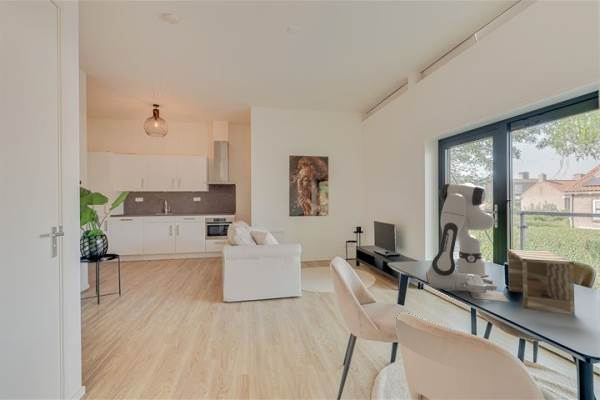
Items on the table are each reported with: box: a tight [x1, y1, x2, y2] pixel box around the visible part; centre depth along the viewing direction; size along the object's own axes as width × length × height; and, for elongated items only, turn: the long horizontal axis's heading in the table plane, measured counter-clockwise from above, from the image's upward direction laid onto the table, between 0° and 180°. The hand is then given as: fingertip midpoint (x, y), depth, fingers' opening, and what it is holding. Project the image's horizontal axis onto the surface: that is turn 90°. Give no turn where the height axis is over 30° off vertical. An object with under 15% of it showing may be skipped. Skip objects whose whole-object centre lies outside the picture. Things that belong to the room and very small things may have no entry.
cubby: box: [507, 248, 576, 315], centre depth 127 cm, size 26×16×21 cm, turn 154°
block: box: [527, 277, 542, 298], centre depth 128 cm, size 5×5×10 cm
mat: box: [469, 290, 510, 303], centre depth 135 cm, size 14×14×1 cm
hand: (494, 284), depth 134 cm, fingers open, 8 cm apart
